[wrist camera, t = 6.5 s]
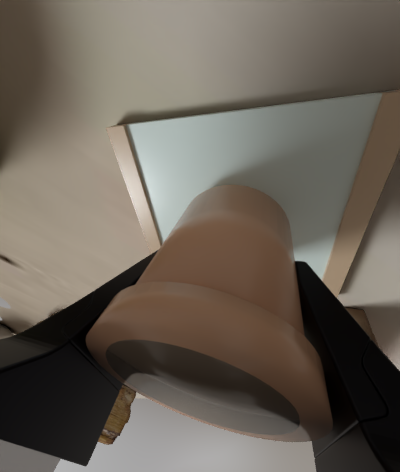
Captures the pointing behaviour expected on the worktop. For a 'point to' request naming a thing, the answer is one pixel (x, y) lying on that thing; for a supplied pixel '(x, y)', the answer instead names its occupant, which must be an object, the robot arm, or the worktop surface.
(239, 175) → the lid pane
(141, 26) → the worktop surface
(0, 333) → the plastic bottle
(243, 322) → the terracotta pot
